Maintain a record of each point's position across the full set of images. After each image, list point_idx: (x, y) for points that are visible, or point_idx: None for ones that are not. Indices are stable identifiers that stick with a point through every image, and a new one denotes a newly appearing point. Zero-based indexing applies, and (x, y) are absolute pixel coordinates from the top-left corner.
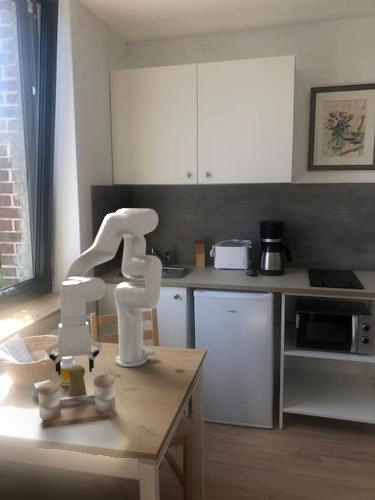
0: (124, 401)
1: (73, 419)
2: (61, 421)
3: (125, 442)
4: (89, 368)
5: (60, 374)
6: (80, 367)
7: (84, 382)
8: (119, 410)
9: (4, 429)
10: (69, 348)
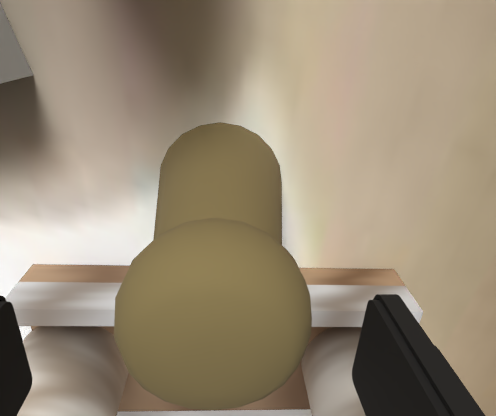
0: (462, 280)
1: (193, 409)
2: (140, 409)
3: None
4: (365, 412)
5: (30, 387)
6: (265, 380)
7: (281, 241)
8: None
9: None
10: None
